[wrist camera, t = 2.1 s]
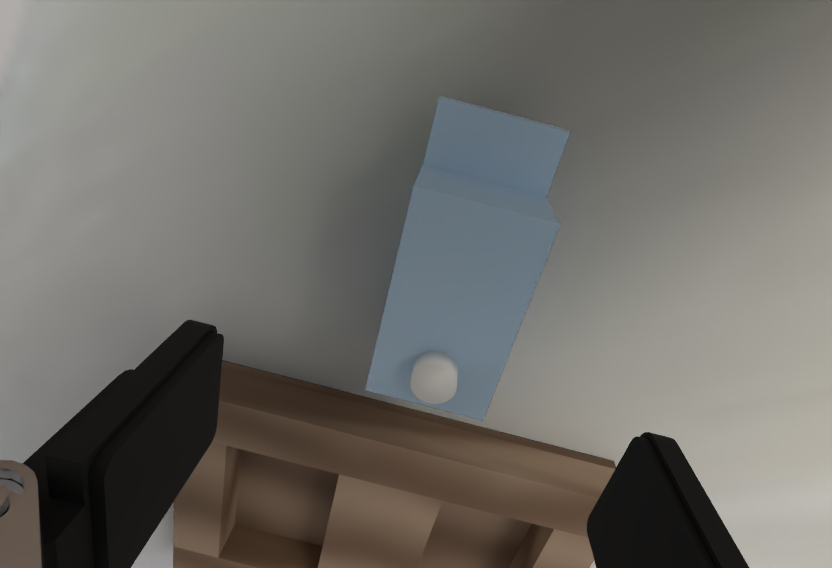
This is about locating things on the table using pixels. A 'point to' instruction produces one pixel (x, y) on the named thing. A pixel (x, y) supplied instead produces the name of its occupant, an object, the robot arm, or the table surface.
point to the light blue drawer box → (467, 257)
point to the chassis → (375, 487)
